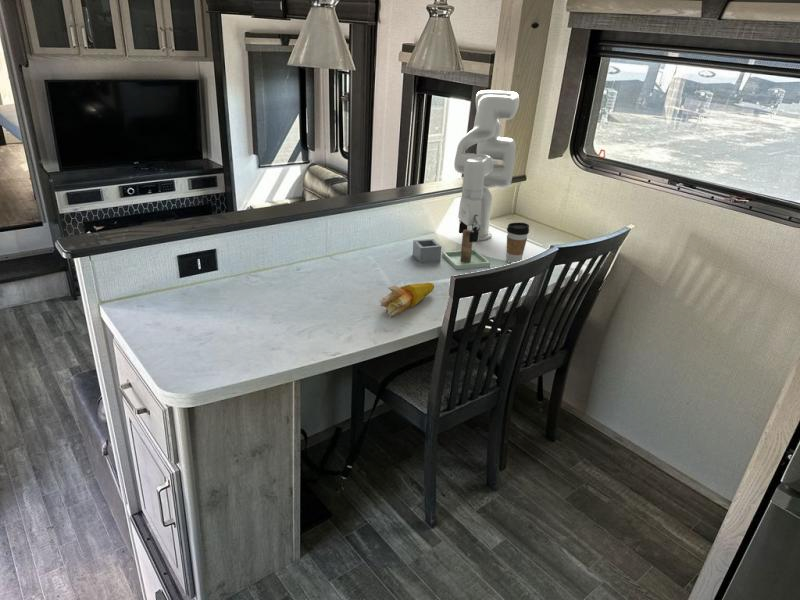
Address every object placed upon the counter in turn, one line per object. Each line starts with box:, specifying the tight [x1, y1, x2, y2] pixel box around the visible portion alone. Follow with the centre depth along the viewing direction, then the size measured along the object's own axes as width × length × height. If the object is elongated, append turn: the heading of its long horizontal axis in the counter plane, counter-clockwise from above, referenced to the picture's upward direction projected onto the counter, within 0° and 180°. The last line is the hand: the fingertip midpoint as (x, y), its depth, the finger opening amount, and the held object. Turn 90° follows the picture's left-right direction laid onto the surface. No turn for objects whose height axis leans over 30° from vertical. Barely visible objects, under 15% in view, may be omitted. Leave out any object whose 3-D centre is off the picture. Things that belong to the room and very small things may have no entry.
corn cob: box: [379, 282, 435, 319], centre depth 187 cm, size 8×8×25 cm
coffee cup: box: [505, 222, 530, 264], centre depth 224 cm, size 8×8×15 cm
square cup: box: [412, 238, 442, 264], centre depth 223 cm, size 8×8×7 cm
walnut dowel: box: [460, 229, 474, 263], centre depth 221 cm, size 4×4×12 cm
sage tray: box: [441, 248, 491, 270], centre depth 223 cm, size 14×14×2 cm
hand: (467, 237), depth 219 cm, fingers open, 9 cm apart
